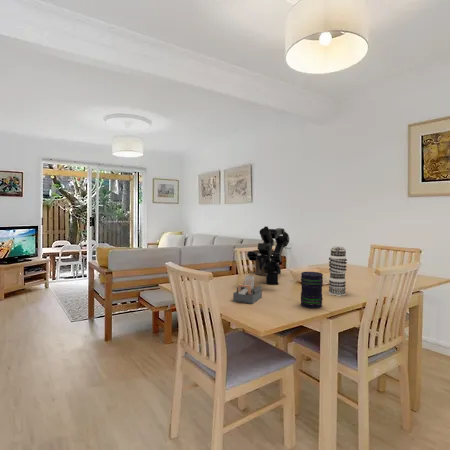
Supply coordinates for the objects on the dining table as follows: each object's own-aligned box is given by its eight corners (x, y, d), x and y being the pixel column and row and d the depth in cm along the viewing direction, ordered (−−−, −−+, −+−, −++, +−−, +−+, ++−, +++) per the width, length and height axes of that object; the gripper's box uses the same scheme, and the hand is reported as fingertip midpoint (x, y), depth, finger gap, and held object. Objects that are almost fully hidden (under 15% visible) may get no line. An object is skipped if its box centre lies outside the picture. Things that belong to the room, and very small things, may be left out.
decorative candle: (334, 296, 169) (335, 248, 168) (324, 292, 178) (325, 246, 177) (350, 295, 171) (351, 247, 170) (339, 291, 180) (340, 246, 179)
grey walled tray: (243, 295, 171) (243, 283, 171) (261, 297, 167) (262, 285, 166) (233, 301, 159) (233, 288, 159) (252, 304, 155) (252, 291, 155)
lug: (239, 292, 161) (239, 284, 160) (250, 293, 158) (251, 285, 158) (238, 292, 159) (238, 284, 159) (250, 294, 157) (250, 286, 157)
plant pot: (249, 272, 232) (249, 249, 232) (270, 271, 237) (270, 249, 237) (258, 277, 217) (258, 252, 216) (280, 275, 222) (280, 252, 221)
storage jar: (306, 301, 161) (306, 270, 160) (325, 305, 154) (326, 273, 154) (296, 305, 153) (297, 273, 152) (316, 309, 147) (317, 276, 146)
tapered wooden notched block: (245, 289, 166) (245, 275, 165) (253, 290, 164) (254, 276, 163) (237, 293, 157) (237, 279, 156) (246, 294, 155) (246, 280, 154)
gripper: (248, 236, 186) (240, 259, 177) (280, 238, 178) (274, 261, 169) (253, 249, 194) (246, 271, 185) (284, 251, 186) (278, 274, 177)
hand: (260, 269), depth 179 cm, fingers closed
